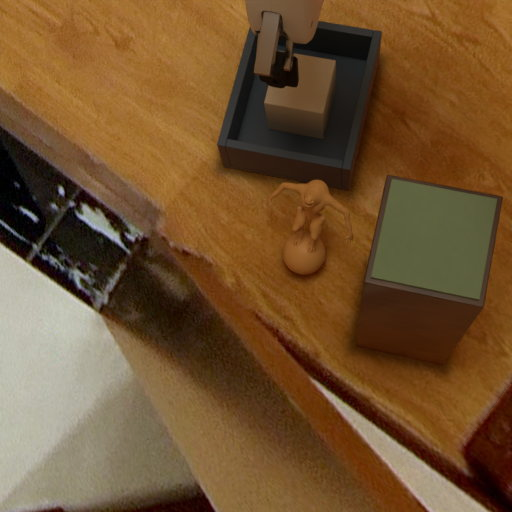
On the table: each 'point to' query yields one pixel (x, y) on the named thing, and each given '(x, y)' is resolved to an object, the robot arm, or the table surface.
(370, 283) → the stand
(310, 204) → the figurine
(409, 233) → the mat
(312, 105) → the beige block
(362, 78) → the tray
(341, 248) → the table surface
